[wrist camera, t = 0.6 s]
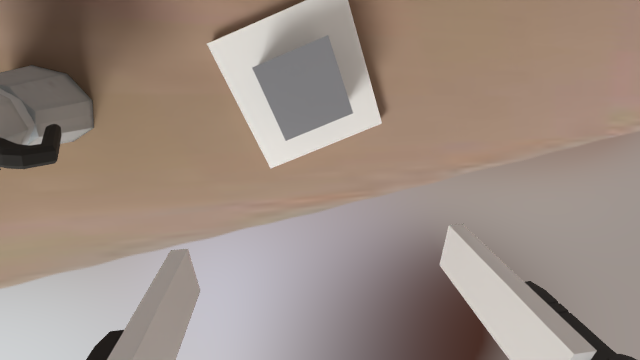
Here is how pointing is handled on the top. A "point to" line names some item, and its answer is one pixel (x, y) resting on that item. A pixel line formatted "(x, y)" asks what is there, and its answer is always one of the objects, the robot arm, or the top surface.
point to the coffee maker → (39, 115)
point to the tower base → (280, 43)
